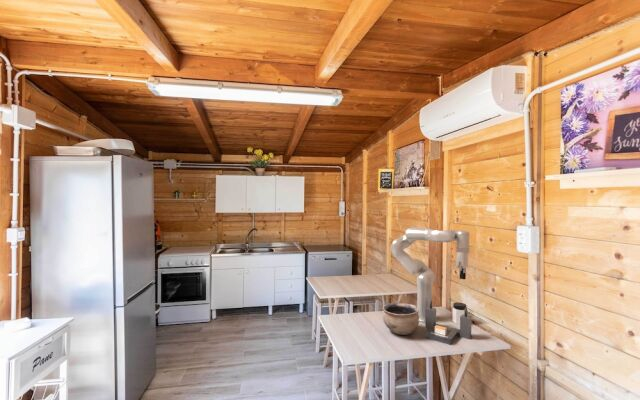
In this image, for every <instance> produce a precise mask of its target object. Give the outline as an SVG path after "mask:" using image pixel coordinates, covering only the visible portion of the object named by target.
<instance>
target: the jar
mask: <svg viewBox="0 0 640 400" xmlns="http://www.w3.org/2000/svg"><path fill="white" fill-rule="evenodd" d="M452 305H453V306H452V313H451V314H452V320H451V321H452V322H454V324H456V325H460V316H461V315H464V314H465V307H466V308H467V304H466V303H463V302H454V303H453V304H452Z"/></svg>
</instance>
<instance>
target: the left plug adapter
mask: <svg viewBox="0 0 640 400" xmlns="http://www.w3.org/2000/svg"><path fill="white" fill-rule="evenodd" d="M424 323H425V329H429V330H430V329H431V328H432V327H433V326H435V325H436V324H437V308H435V307H433V299H432V300H430V307H428V308H426V309H425V322H424Z"/></svg>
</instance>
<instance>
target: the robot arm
mask: <svg viewBox="0 0 640 400" xmlns="http://www.w3.org/2000/svg"><path fill="white" fill-rule="evenodd" d="M416 241H426V242H435V243H451V242H454V241H455V243H456V245H455V247H456V249H455V250H456V258H455V262H456V263H455V267H456V269H458V268H459V269H458V271H459V279H460V280H466V279H467V277H466V276H467V272H466V271H467V268H468V267H469V254H470V232H469V231H468V230H456V229H447V230H437V229H436V230H435V229H432V228H429V227H417V226H411V227H409V228H406V230H405V231H404V235H402V236H401V237H398V238H394V240H393V241H392V242H391V244H390V251H391V254H392V256H393V257H394V258H395V259H396V260H397V261H398V263H400V264H401V265H402V267H403V268H404V269H405V270H406V271H407V272H408V273H409V274H410V275H417V277H416V292H417V294H416V297H417V298H416V301H417V302H416V303H417V305H416V307H417V310H418V309H419V312H418V315H419V323H420V322H421V323H425V309H426V308H428V307H430V300H432V301H433V291H432V290H433V289H432V285H433V284H434V283H435V282H436V274H435V273H434V271H432V269H431V268H429V267H428V266H427V264H426V263H424V262H423V261H422V260H421V259H418V258H415V259H414V258H413V257H412V256H411V255H410V254H409V253H407V252H406V251H405V250H404V249H408V248H409V247H410V246H411V245H412V244H413V243H415V242H416Z"/></svg>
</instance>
